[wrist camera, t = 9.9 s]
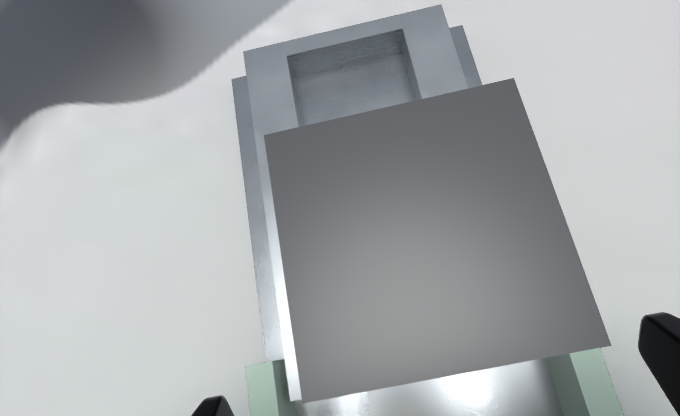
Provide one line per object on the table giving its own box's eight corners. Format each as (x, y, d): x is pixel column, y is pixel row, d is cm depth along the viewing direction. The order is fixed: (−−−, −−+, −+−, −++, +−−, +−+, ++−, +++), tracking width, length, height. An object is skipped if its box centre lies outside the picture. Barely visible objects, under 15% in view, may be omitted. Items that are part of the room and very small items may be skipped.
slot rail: (686, 717, 14) (744, 792, 11) (320, 765, 14) (306, 846, 12) (460, 33, 22) (468, -3, 20) (235, 85, 23) (218, 57, 20)
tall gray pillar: (461, 345, 17) (637, 360, 5) (363, 363, 17) (288, 425, 5) (436, 248, 18) (523, 62, 6) (345, 267, 19) (248, 126, 6)
